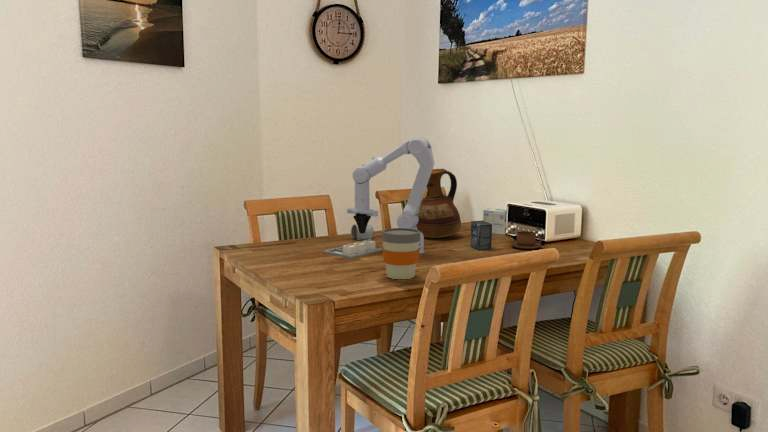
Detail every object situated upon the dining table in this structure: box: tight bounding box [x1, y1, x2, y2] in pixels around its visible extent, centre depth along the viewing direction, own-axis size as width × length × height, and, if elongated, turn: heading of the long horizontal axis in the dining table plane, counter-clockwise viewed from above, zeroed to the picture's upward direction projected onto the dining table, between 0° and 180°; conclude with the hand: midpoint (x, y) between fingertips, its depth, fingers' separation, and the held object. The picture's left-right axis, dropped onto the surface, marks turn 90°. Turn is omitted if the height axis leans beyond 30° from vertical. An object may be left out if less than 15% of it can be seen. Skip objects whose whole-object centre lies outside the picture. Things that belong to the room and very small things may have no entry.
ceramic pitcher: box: [416, 168, 462, 239], centre depth 261 cm, size 20×20×30 cm
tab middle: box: [352, 240, 366, 253], centre depth 224 cm, size 4×3×4 cm
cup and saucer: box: [510, 230, 543, 250], centre depth 241 cm, size 12×12×6 cm
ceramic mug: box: [350, 223, 374, 241], centre depth 253 cm, size 10×8×7 cm
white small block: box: [362, 238, 376, 251], centre depth 228 cm, size 4×3×4 cm
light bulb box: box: [482, 207, 508, 236], centre depth 272 cm, size 11×7×11 cm, turn 58°
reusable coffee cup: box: [381, 227, 420, 280], centre depth 194 cm, size 13×13×15 cm
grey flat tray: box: [323, 243, 383, 260], centre depth 226 cm, size 14×18×2 cm
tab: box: [342, 243, 356, 256], centre depth 220 cm, size 4×3×4 cm
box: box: [470, 220, 493, 251], centre depth 238 cm, size 8×6×11 cm
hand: (362, 233), depth 234 cm, fingers closed
